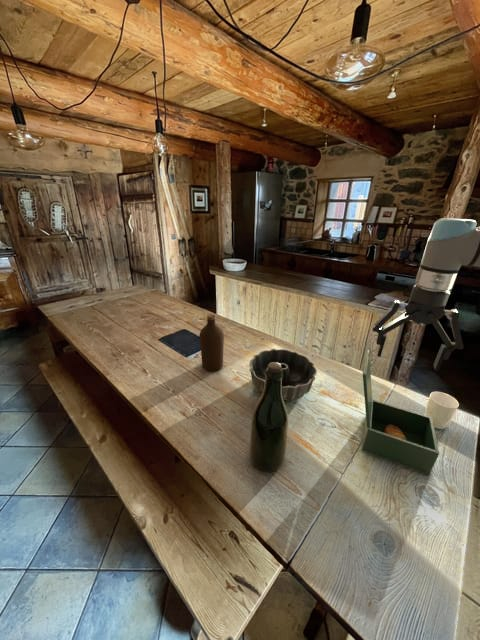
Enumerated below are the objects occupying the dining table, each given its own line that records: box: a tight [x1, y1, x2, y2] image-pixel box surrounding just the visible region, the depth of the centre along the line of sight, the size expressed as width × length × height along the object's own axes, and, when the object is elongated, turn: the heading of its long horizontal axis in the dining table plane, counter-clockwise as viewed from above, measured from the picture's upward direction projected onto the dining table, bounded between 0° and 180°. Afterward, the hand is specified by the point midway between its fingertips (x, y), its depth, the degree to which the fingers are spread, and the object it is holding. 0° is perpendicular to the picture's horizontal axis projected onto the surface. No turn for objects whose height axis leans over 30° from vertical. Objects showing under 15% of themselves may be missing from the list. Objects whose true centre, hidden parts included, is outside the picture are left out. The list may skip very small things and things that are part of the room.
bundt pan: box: [249, 348, 318, 402], centre depth 107 cm, size 26×26×10 cm
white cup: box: [423, 391, 460, 430], centre depth 91 cm, size 8×8×10 cm
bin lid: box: [362, 348, 373, 428], centre depth 81 cm, size 18×15×1 cm
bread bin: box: [361, 399, 440, 476], centre depth 82 cm, size 18×15×9 cm
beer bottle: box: [249, 362, 289, 473], centre depth 72 cm, size 10×10×33 cm
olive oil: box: [198, 314, 225, 372], centre depth 116 cm, size 11×11×25 cm
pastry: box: [384, 424, 407, 441], centre depth 84 cm, size 9×7×4 cm
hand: (406, 361), depth 73 cm, fingers open, 13 cm apart
